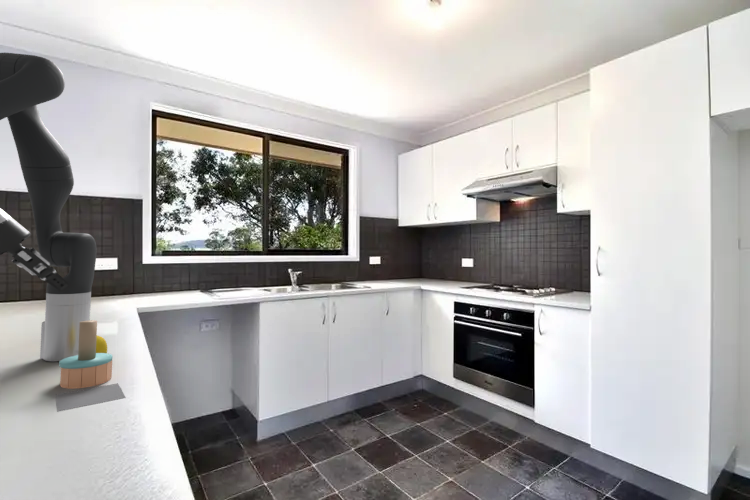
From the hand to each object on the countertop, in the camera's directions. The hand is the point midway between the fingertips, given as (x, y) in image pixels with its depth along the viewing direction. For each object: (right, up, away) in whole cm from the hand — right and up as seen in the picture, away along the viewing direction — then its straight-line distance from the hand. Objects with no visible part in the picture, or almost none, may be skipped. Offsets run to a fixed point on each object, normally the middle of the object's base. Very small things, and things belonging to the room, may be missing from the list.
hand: (64, 287), depth 76 cm
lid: (+3, -17, +2) cm, 17 cm away
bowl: (+3, -21, +2) cm, 21 cm away
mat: (+10, -21, -5) cm, 24 cm away
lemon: (-5, -21, +13) cm, 25 cm away
